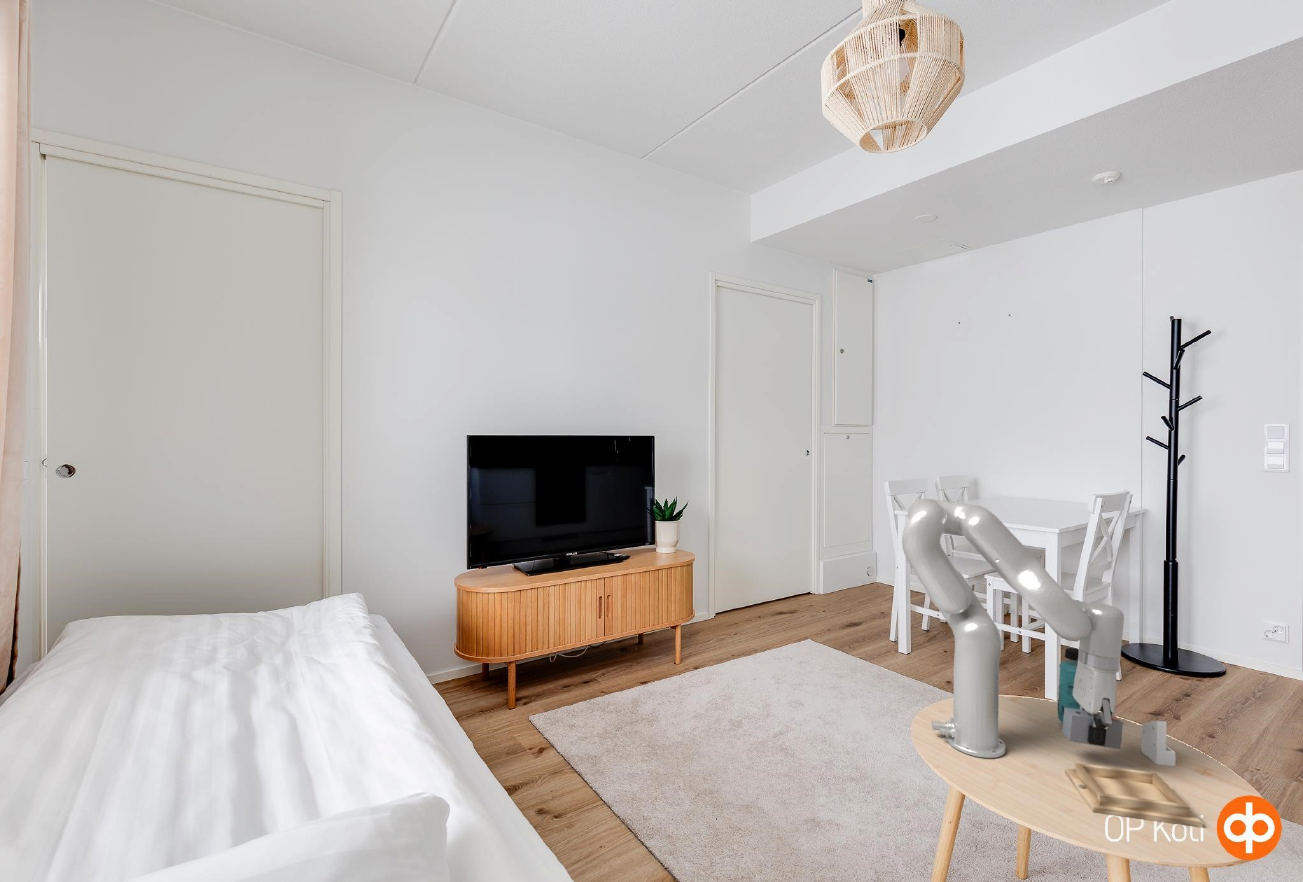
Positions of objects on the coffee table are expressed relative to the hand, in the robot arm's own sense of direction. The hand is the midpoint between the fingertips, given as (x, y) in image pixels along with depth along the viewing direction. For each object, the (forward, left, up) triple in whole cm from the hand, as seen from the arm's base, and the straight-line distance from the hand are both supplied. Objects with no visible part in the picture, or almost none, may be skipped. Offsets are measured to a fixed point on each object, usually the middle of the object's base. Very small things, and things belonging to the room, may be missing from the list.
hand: (1091, 737), depth 137 cm
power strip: (0, 0, -1) cm, 1 cm away
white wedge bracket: (+16, +6, -6) cm, 18 cm away
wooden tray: (+2, -13, -6) cm, 14 cm away
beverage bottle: (+3, +17, -6) cm, 18 cm away
